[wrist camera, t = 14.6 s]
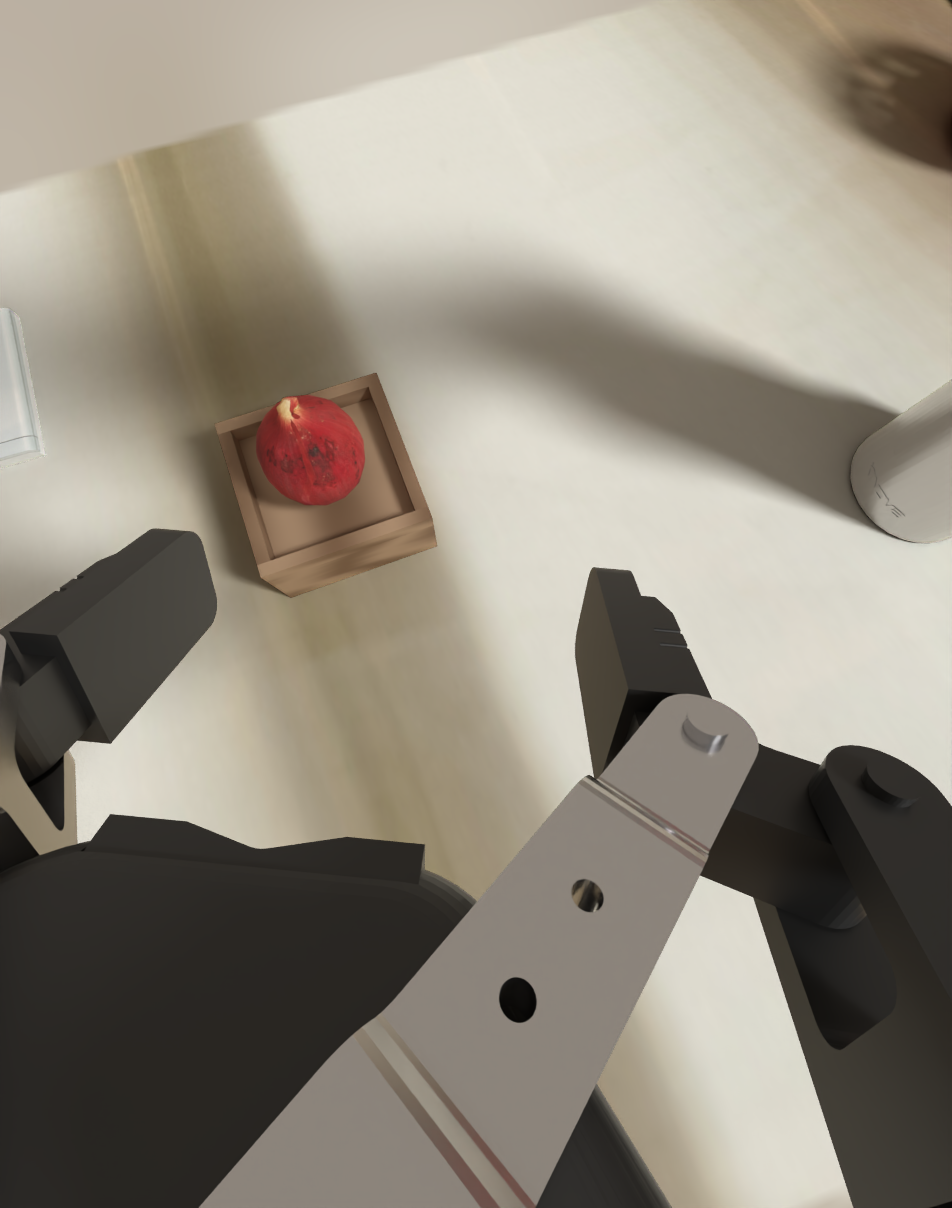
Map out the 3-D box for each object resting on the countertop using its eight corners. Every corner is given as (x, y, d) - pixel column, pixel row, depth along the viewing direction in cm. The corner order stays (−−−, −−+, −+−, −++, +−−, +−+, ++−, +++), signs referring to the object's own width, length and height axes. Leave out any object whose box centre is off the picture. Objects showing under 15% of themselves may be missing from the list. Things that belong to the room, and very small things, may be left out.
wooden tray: (388, 418, 38) (376, 372, 33) (437, 546, 36) (432, 517, 30) (249, 464, 37) (214, 423, 32) (291, 597, 35) (260, 577, 30)
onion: (390, 501, 32) (365, 432, 24) (305, 539, 31) (252, 482, 23) (352, 426, 33) (317, 337, 25) (270, 462, 32) (207, 382, 25)
